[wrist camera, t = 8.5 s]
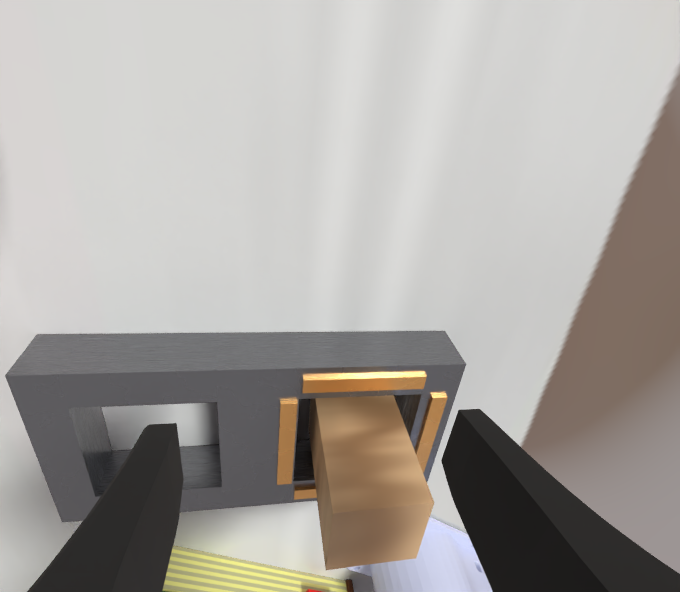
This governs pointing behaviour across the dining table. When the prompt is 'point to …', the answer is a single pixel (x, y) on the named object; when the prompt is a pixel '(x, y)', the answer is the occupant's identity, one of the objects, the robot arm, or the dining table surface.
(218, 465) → the grey slotted holder
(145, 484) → the robot arm
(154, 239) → the dining table surface
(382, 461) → the wooden block
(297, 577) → the hardcover book
